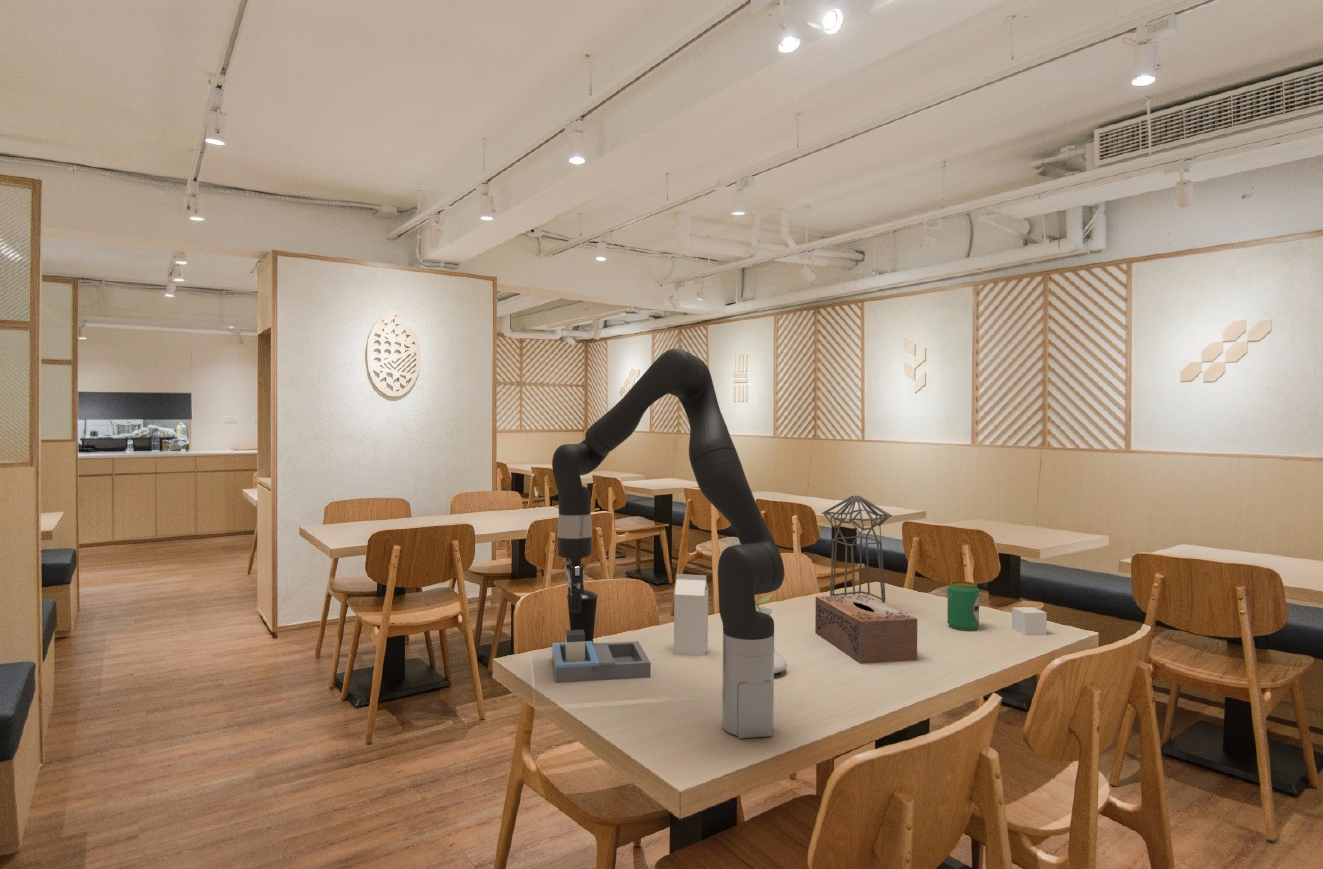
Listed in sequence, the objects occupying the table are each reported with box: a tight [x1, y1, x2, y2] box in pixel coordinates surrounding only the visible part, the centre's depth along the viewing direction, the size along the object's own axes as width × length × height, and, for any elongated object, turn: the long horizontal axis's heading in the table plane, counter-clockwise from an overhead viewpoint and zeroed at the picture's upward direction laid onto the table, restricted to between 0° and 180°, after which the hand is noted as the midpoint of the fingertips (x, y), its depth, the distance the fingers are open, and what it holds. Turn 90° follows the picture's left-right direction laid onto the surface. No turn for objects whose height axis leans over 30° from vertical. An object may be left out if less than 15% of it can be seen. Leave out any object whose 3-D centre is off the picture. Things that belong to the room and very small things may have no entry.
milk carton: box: [673, 573, 709, 656], centre depth 176 cm, size 7×7×19 cm
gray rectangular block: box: [564, 629, 585, 662], centre depth 161 cm, size 4×4×8 cm
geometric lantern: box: [821, 495, 893, 604], centre depth 214 cm, size 16×16×35 cm
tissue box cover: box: [814, 594, 918, 665], centre depth 183 cm, size 26×14×10 cm, turn 11°
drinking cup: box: [566, 584, 599, 644], centre depth 177 cm, size 8×8×20 cm
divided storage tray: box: [551, 640, 652, 684], centre depth 162 cm, size 16×20×5 cm
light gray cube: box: [1011, 606, 1048, 636], centre depth 197 cm, size 6×6×6 cm
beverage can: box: [946, 580, 980, 632], centre depth 201 cm, size 8×8×12 cm
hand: (574, 608), depth 161 cm, fingers open, 8 cm apart
